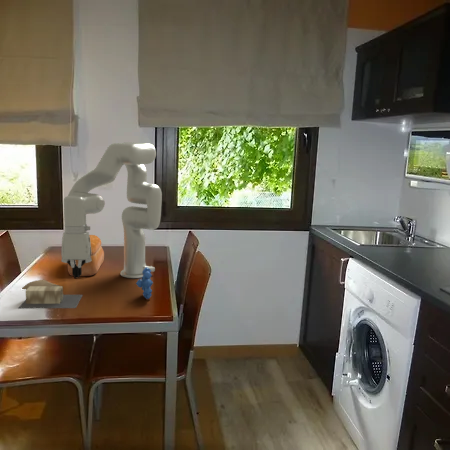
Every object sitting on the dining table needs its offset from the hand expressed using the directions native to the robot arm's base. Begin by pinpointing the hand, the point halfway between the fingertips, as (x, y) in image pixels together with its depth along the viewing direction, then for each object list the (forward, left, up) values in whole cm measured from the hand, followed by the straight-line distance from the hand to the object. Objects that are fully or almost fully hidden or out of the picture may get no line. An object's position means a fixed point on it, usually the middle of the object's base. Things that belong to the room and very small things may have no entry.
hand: (77, 276), depth 165 cm
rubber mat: (+9, 0, -10) cm, 13 cm away
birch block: (+6, 0, -7) cm, 9 cm away
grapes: (-25, -5, -10) cm, 27 cm away
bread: (+4, -44, -10) cm, 45 cm away
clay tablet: (+17, -16, -11) cm, 25 cm away
